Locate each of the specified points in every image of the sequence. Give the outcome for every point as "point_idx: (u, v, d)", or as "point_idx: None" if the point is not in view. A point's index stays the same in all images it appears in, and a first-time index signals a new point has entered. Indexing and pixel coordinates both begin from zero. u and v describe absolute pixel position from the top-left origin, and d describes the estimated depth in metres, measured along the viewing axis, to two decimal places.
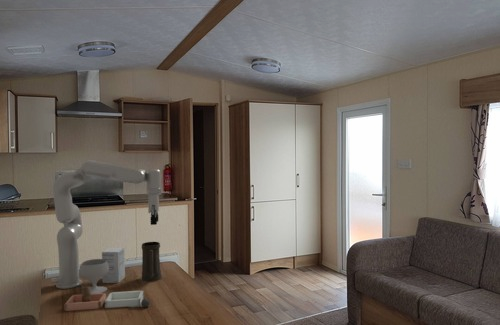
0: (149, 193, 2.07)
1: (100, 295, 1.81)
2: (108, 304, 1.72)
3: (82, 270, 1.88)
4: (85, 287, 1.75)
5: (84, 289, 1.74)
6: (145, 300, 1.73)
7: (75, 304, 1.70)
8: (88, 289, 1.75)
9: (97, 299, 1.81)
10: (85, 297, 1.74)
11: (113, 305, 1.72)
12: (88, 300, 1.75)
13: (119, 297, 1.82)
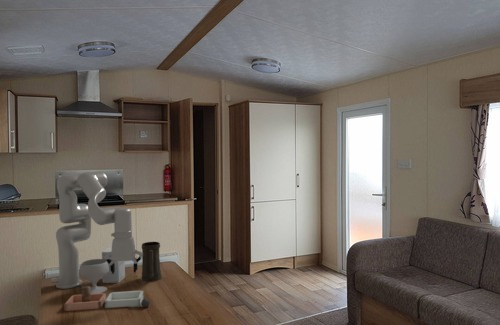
0: (129, 237, 1.76)
1: (100, 295, 1.81)
2: (108, 304, 1.72)
3: (82, 270, 1.88)
4: (85, 287, 1.75)
5: (84, 289, 1.74)
6: (145, 300, 1.73)
7: (75, 304, 1.70)
8: (88, 289, 1.75)
9: (97, 299, 1.81)
10: (85, 297, 1.74)
11: (113, 305, 1.72)
12: (88, 300, 1.75)
13: (119, 297, 1.82)
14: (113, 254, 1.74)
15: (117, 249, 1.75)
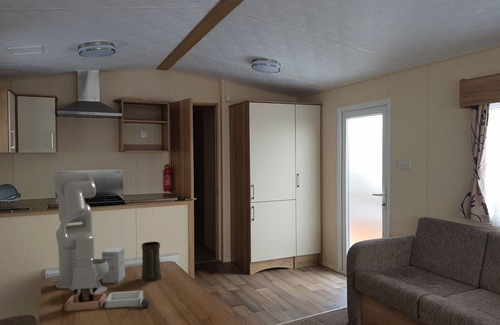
0: (91, 264, 1.74)
1: (100, 295, 1.81)
2: (108, 304, 1.72)
3: None
4: None
5: (84, 289, 1.74)
6: (145, 300, 1.73)
7: (75, 304, 1.70)
8: (88, 289, 1.75)
9: (97, 299, 1.81)
10: (85, 297, 1.74)
11: (113, 305, 1.72)
12: (88, 300, 1.75)
13: (119, 297, 1.82)
14: (74, 282, 1.72)
15: (78, 277, 1.72)
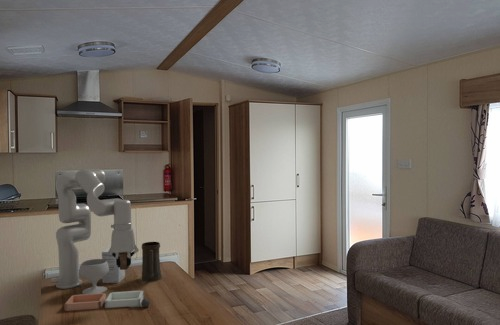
0: (129, 228, 1.76)
1: (100, 295, 1.81)
2: (108, 304, 1.72)
3: (82, 270, 1.88)
4: None
5: (122, 253, 1.76)
6: (145, 300, 1.73)
7: (75, 304, 1.70)
8: (126, 253, 1.77)
9: (97, 299, 1.81)
10: (123, 261, 1.76)
11: (113, 305, 1.72)
12: (126, 264, 1.77)
13: (119, 297, 1.82)
14: (113, 245, 1.74)
15: (117, 240, 1.74)
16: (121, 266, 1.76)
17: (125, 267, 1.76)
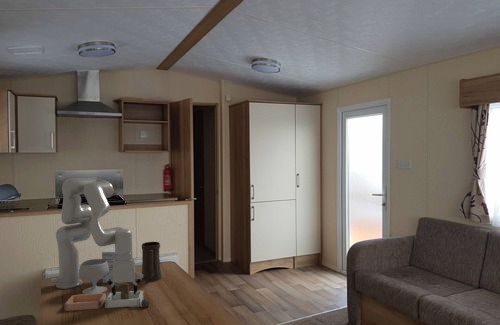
0: (130, 258, 1.76)
1: (100, 295, 1.81)
2: (108, 304, 1.72)
3: (82, 270, 1.88)
4: (124, 285, 1.78)
5: (123, 286, 1.76)
6: (145, 300, 1.73)
7: (75, 304, 1.70)
8: (127, 287, 1.77)
9: (97, 299, 1.81)
10: (124, 295, 1.76)
11: (113, 305, 1.72)
12: (127, 297, 1.77)
13: (119, 297, 1.82)
14: (114, 276, 1.75)
15: (118, 271, 1.75)
16: None
17: None
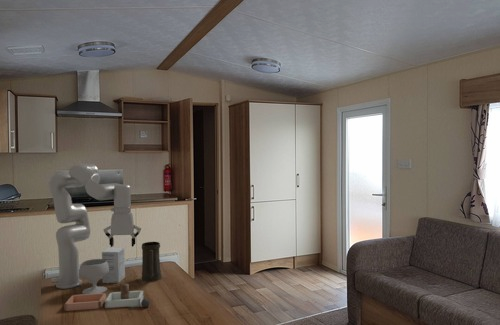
0: (128, 212, 1.82)
1: (100, 295, 1.81)
2: (108, 304, 1.72)
3: (82, 270, 1.88)
4: (124, 285, 1.78)
5: (123, 287, 1.76)
6: (145, 300, 1.73)
7: (75, 304, 1.70)
8: (127, 287, 1.77)
9: (97, 299, 1.81)
10: (124, 295, 1.76)
11: (113, 305, 1.72)
12: (127, 297, 1.77)
13: (119, 297, 1.82)
14: (112, 228, 1.81)
15: (116, 223, 1.81)
16: None
17: None
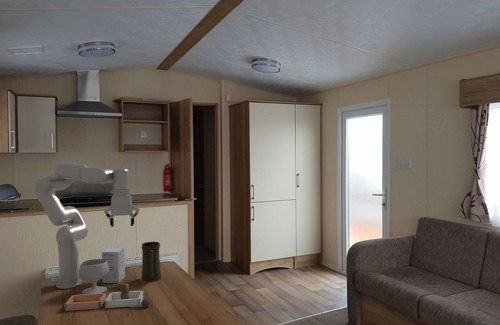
0: (127, 194, 1.95)
1: (100, 295, 1.81)
2: (108, 304, 1.72)
3: (82, 270, 1.88)
4: (124, 284, 1.78)
5: (123, 286, 1.76)
6: (145, 300, 1.73)
7: (75, 304, 1.70)
8: (127, 286, 1.77)
9: (97, 299, 1.81)
10: (124, 295, 1.76)
11: (113, 305, 1.72)
12: (127, 297, 1.77)
13: (119, 297, 1.82)
14: (112, 209, 1.93)
15: (116, 204, 1.93)
16: None
17: None
